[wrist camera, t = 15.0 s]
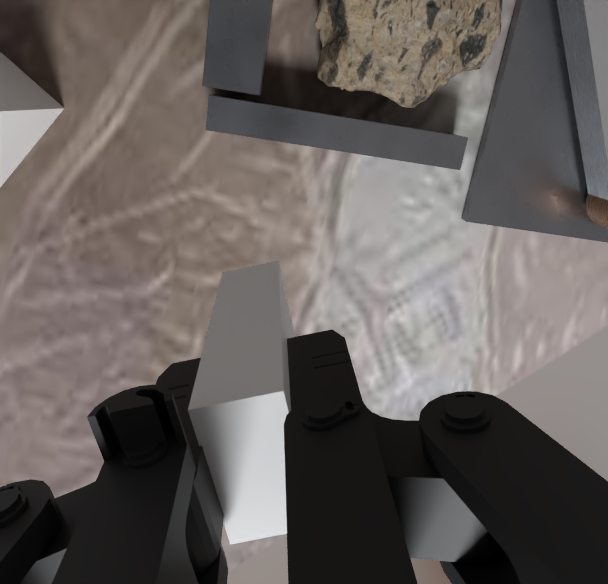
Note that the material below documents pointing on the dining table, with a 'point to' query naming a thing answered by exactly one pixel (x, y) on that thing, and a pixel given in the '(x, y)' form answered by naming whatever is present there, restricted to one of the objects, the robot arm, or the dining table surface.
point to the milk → (21, 115)
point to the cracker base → (425, 143)
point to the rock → (403, 44)
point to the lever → (589, 93)
